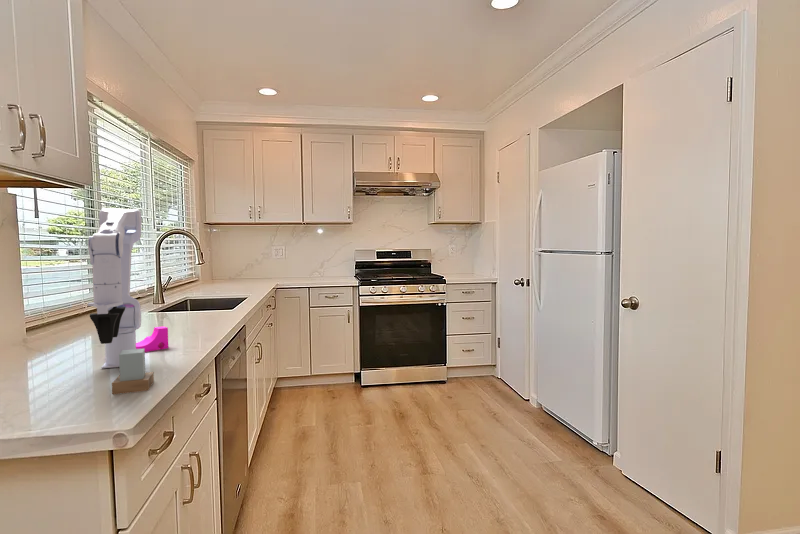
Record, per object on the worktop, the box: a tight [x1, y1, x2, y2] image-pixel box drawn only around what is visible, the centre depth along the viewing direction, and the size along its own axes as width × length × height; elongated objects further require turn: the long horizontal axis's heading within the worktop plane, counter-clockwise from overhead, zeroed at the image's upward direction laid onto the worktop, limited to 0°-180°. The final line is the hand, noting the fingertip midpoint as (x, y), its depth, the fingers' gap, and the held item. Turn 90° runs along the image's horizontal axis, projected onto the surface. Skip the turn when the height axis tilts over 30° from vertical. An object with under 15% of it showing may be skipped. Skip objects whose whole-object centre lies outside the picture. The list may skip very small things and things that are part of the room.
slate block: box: [118, 348, 146, 381], centre depth 104 cm, size 4×4×6 cm
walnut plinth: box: [111, 371, 155, 395], centre depth 104 cm, size 7×7×3 cm
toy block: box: [136, 325, 169, 353], centre depth 139 cm, size 15×6×8 cm, turn 137°
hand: (109, 340), depth 110 cm, fingers open, 7 cm apart
